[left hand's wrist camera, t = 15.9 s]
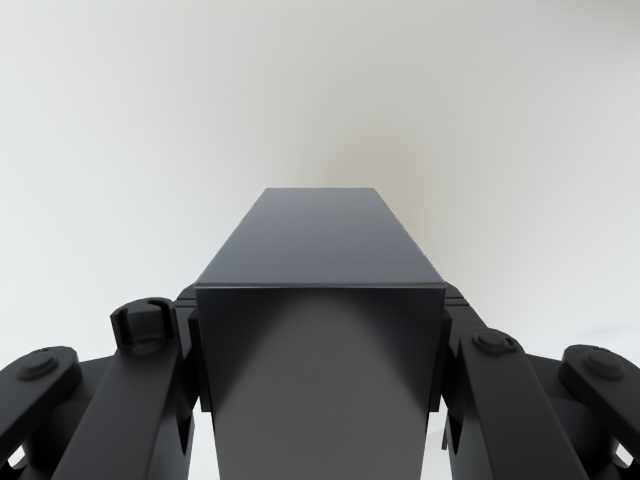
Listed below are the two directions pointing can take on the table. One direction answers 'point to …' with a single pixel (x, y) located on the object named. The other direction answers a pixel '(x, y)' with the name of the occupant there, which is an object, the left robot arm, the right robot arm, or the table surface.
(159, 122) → the table surface
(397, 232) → the bar
